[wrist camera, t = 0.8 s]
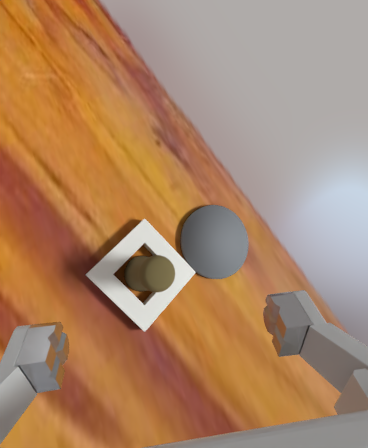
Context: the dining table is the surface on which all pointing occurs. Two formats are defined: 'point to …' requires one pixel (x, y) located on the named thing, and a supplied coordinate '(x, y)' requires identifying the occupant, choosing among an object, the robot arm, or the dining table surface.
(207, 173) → the dining table surface
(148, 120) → the dining table surface
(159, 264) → the olive pawn
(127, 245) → the white square frame
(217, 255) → the charcoal mat
